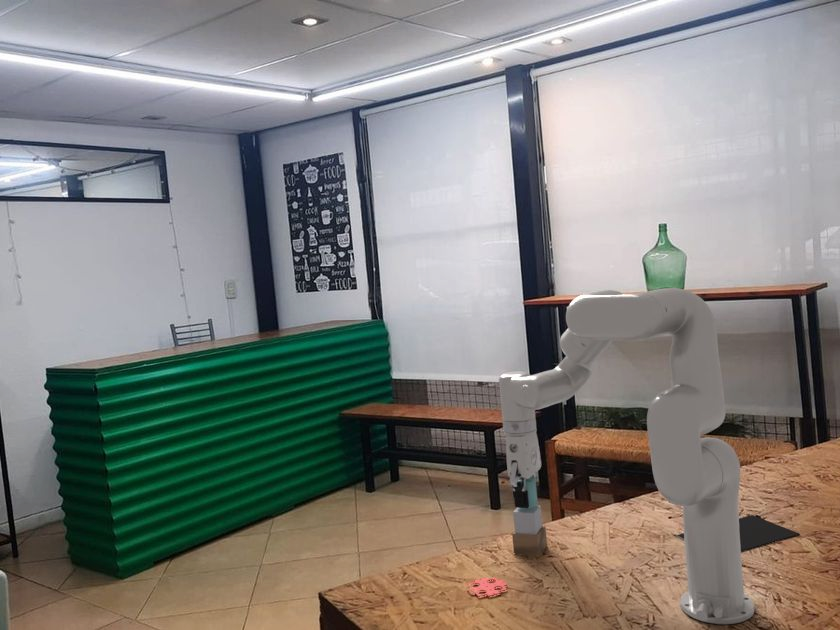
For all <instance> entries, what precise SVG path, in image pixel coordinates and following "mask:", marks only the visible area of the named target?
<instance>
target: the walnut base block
mask: <svg viewBox="0 0 840 630" xmlns="http://www.w3.org/2000/svg"><path fill="white" fill-rule="evenodd" d="M511 535H512V546H513V554H514V553H515V554H514V555H518V554H521V555H520V556H526V557H527V556H529V557H537V558H539V557H540V556H541V555H542V554H543V552H545V550H546V549H547V547H548V539H547V528H546V525H542V528H541V529H540V530H539V532H538V533H537V534H536V535H533V534H521V533H515V530H514V531H513V532H512V533H511Z"/></svg>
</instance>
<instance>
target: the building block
mask: <svg viewBox="0 0 840 630" xmlns="http://www.w3.org/2000/svg"><path fill="white" fill-rule="evenodd" d="M490 580H491V581H492V580H493V581H495V582H490V583H488V581H490ZM474 581H475V582H474ZM474 583H475V584H479V585H480V586H473V587H472V586H471V585H472V584H474ZM467 584H468V585H469V586H471V587H472V588H471V587H470V589H471V590H472V589H474V592H471V593H476V594H477V596H478V597H480V596H485V595H487V596H488V597H490V596H494V595H497V594H501V595H502V593H500V592H501V591H505V590H507V591H508V588H505V587H504V586H507V587H508V584H507V583H506V582H505V581H504V580H503V579H500V580H498V579H497V577H495V576H494V577H490V578H487V577H482V578H478V579H474V580H473V582H469V583H467ZM496 587H501V588H502V589H496V590H495V588H496ZM467 588H468V587H467ZM468 590H469V588H468ZM472 591H473V590H472ZM478 591H486V593H480V594H479V593H478ZM488 597H487V598H488Z"/></svg>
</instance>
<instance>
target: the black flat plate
mask: <svg viewBox="0 0 840 630" xmlns="http://www.w3.org/2000/svg"><path fill="white" fill-rule="evenodd" d="M739 533H740V547H741V553H742V551H743V552H746V551H749V549H750V550H753V549H756V547H757V548H760V547H764V546H767V545H771V544H773V543H772V542H774V543H776V542H775V541H778V540H781V541H783V540H782V539H784V540H787V538H788V539H791V538H795V537H797V536H800V535H801V533H799V532H797V531H794V530H792V529H788V528H787V527H784V526H782V525H779V524H776V523H775V522H774V523H773V522H771V521H769V520H766V519H764V518H762V516H761V515H759V514H758V515H757V514H755V515H754V514H747V516H743V517H739ZM674 537H675V538H677V539H680V540H682V541H684V542H685V540H684V532H683V533H681V534H679V533H678V534H676V533H674ZM778 542H779V541H778ZM770 543H771V544H770ZM766 544H767V545H766ZM763 545H764V546H763ZM752 548H753V549H752ZM745 550H746V551H745Z"/></svg>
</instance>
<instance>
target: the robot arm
mask: <svg viewBox="0 0 840 630" xmlns="http://www.w3.org/2000/svg"><path fill="white" fill-rule="evenodd" d="M565 322H566V325H567V329H565V331H564V332H563V333H562V334H561V335H560V339H559V347H560V348H561V351H562V352H563V354H564V355H565V357H563V359H562V360H561V361H560V363H559V364H558V365H556V366H555V368H553V369H548V370H545V371H542V372H538V373H535V374H530V373H529V372H528V371H522V370H519V371H508V372H504V373H502V374H501V375H500V376H499V379H498V385H499V387H498V388H499V396H500V406H501V416H502V417H501V418H502V427H503V428H502V429H503V434H504V435H505V439H506V440H505V441H506V442H505V451H506V457H505V458H506V466H507V474H508V477H509V484H510V485H511V487H512V491H513V498H514V506H515V508H528V507H529V500H528V490H526V479H529V478H530V477H534V478H535V480H536V491H537V499H538V498H539V496H538V483H537V480H538V479H537V472H538V471H540V470H541V467H542V458H541V452H540V451H541V450H540V446H539V438H538V434H537V431H538V430H537V420H536V419H537V418H536V410H541V409H544V408H548V407H551V406H553V405H556V404H559V403H563V402H566V401H568V400H569V399H571V398H572V397H574V396H575V394H577V392H578V391H579V390H580V389H581V388H582V387H583V386H584V385H585V384H586V383H587V382H588V381H589V379H590V378H591V376H592V374H593V370H594V367H595V362H596V360H597V359H598V358H599V357H600V356H601V355H602V353H604V352H605V350H606V349H607V348H608V346H609V345H610V344H611V343H612V342H613V341H615V342H616V341H618V342H622V341H623V342H640V341H648V340H651V339H654V338H659V337H662V336H664V335H670V336H672V339H671V340H672V342H671V346H670V349H669V359H668V361H669V368H670V379H671V387H669V388H668V389H665V390H663V391H661V392H660V393H658V394H657V395H655V396H654V398H653V399H652V400H651V402H650V404H649V406H648V410H647V414H646V428H647V437H648V444H649V445H648V446H649V452H650V460H651V462H650V463H651V467H652V475H653V480H654V483H655V485H656V487H657V490H658V492H659V493H660V495H661V496H662V497H663V498H664V499H665V500H666V501H667V502H668V503H670V504H671V505H674V506H677V507H682V522H683V525H682V526H683V527H682V528H683V533H684V540H685V541H684V540H683V541H684V549H685V550H684V551H685V552H684V553H685V563H686V564H685V565H686V580H687V591H685V592H684V593H683V594H682V595H681V596H680V600H679V601H680V607H681V610H683V612H684V613H686V614H687V615H688V616H689V617H691V618H693V619H696V620H698V621H701V622H704V623H709V624H715V625H716V624H717V625H734V624H740V623H743V622H745V621H747V620H749V619H750V618H752V617H753V615H754V614H755V604H754V602H753V600H752V599H751V598H750V597H749V596H748V595H746V594H744V593H745V591H744V577H743V563H742V552H741V547H740V533H739V518H740V516H739V497H740V496H739V494H740V484H741V463H740V459H739V457H738V455H737V453H736V451H735V450H734V448H733V447H732V446H731V445H730V444H729V443H727V442H726V441H724V440H722V439H721V438H716V437H703V438H701V437H702V436H704V435H706V434H708V433H710V432H712V431H714V430H715V429H717V428H719V427H720V426H721V425H722V424H723V423H724V421H725V418H726V414H727V413H726V411H727V410H726V401H725V392H724V386H723V385H724V384H723V377H722V369H721V367H722V366H721V362H720V355H719V343H718V342H719V341H718V340H719V339H718V330H717V322H716V320H715V316H714V314H713V312H712V310H711V308H710V306H709V305H708V304H707V302H706V301H704V299H703V298H701V297H700V296H699V295H697V294H695V293H694V292H693V291H690V290H687V289H683V288H678V287H669V288H668V287H666V288H658V289H654V290H650V291H649V290H647V291H643V292H638V293H632V294H624V293H622V292H620V291H618V290H612V289H610V290H609V289H608V290H607V289H606V290H600V291H594V292H588V293H583V294H581V295H578V296H576V297H575V298H573V299H572V300H571V302H570V303H569V304H568V306H567V310H566V312H565ZM519 475H520V476H519ZM521 476H522V477H521ZM518 480H522V484H521V483H520V482H518Z"/></svg>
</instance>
